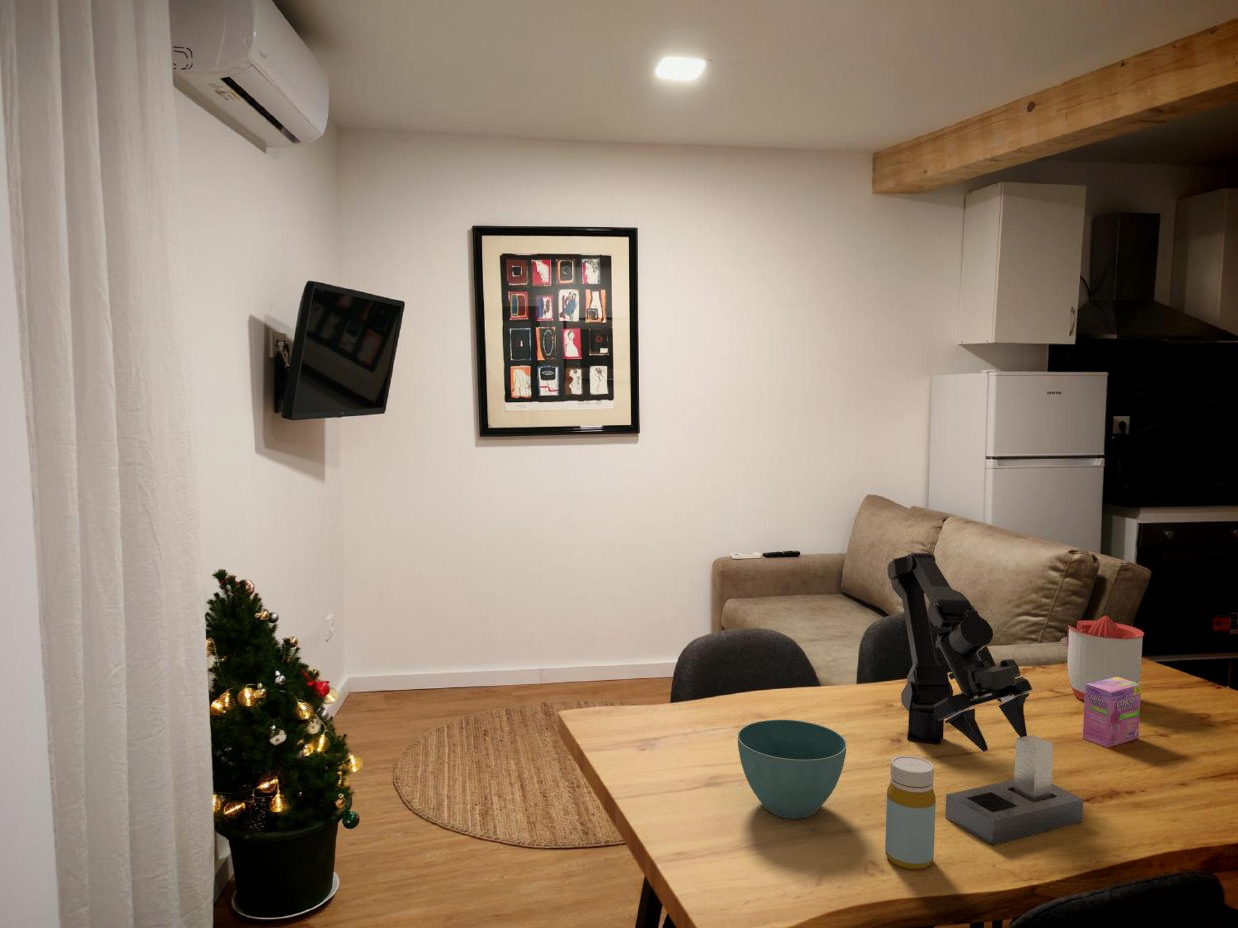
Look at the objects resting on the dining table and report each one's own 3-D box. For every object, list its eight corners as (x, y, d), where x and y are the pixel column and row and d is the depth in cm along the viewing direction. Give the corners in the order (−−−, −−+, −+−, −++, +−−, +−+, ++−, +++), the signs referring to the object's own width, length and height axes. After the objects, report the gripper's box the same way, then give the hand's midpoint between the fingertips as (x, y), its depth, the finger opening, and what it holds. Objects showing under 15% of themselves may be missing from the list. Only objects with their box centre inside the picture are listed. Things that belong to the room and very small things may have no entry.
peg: (1032, 822, 145) (1035, 746, 144) (1012, 812, 148) (1016, 738, 147) (1049, 818, 146) (1053, 743, 145) (1029, 808, 150) (1033, 734, 149)
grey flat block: (992, 845, 137) (993, 821, 137) (945, 817, 146) (946, 794, 146) (1082, 821, 145) (1083, 798, 145) (1032, 796, 154) (1033, 774, 154)
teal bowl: (731, 782, 159) (732, 717, 158) (832, 785, 158) (833, 719, 157) (742, 832, 141) (743, 758, 140) (856, 835, 140) (858, 761, 139)
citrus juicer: (1071, 682, 217) (1075, 603, 216) (1149, 700, 204) (1154, 616, 203) (1046, 696, 207) (1049, 613, 205) (1127, 716, 194) (1131, 628, 192)
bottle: (877, 848, 136) (880, 755, 135) (921, 846, 137) (924, 753, 135) (895, 872, 129) (899, 774, 128) (941, 870, 130) (945, 773, 129)
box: (1108, 748, 176) (1110, 691, 175) (1081, 738, 181) (1084, 683, 180) (1139, 739, 181) (1142, 683, 180) (1113, 730, 186) (1115, 675, 185)
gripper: (950, 656, 152) (993, 744, 145) (1029, 636, 159) (1074, 719, 152) (915, 677, 161) (955, 761, 154) (992, 657, 168) (1033, 737, 161)
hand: (1005, 744), depth 155 cm, fingers open, 9 cm apart
